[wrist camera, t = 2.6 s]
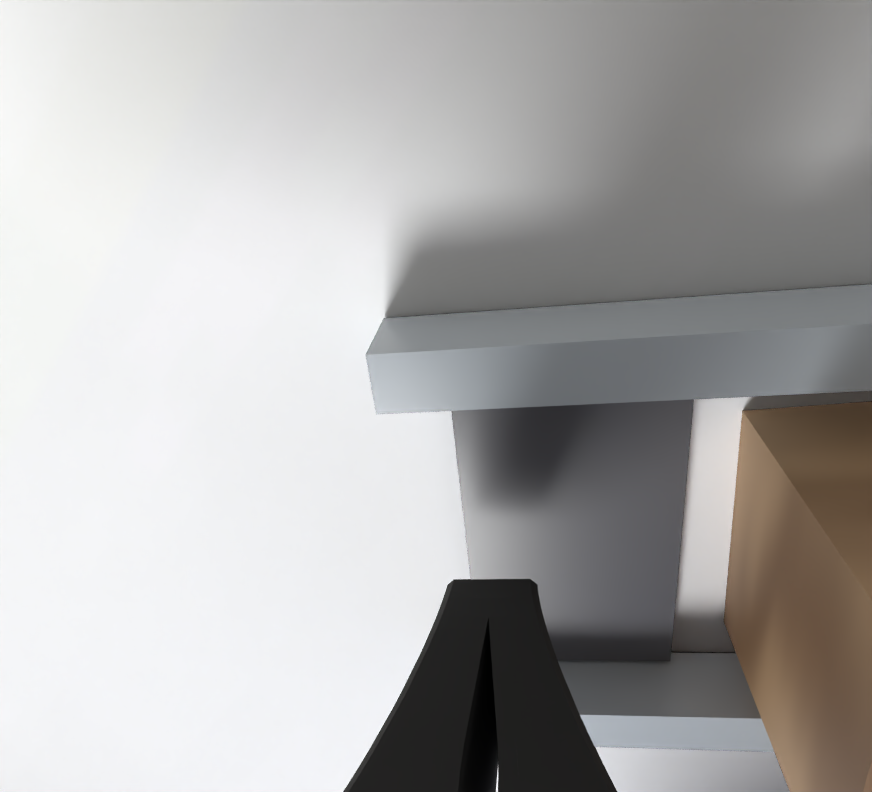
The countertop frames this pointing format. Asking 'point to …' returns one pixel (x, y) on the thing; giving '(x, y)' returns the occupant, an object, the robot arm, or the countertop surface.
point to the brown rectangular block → (806, 588)
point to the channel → (613, 471)
